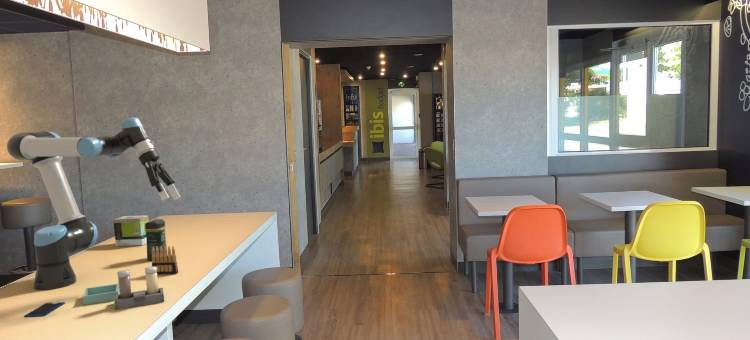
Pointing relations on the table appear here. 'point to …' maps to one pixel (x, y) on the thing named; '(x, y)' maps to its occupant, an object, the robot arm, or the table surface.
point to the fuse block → (139, 299)
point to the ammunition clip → (164, 261)
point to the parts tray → (100, 294)
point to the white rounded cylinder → (151, 280)
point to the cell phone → (44, 309)
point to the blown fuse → (124, 284)
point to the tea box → (130, 230)
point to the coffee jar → (155, 236)
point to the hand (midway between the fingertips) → (171, 199)
